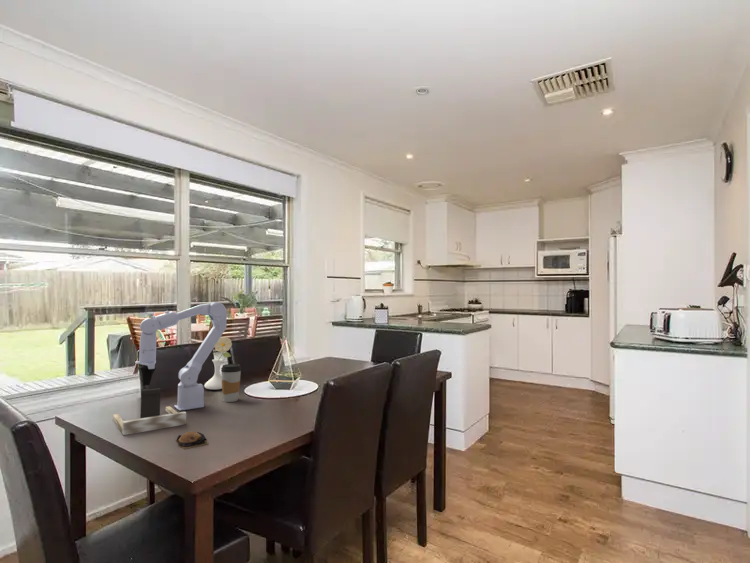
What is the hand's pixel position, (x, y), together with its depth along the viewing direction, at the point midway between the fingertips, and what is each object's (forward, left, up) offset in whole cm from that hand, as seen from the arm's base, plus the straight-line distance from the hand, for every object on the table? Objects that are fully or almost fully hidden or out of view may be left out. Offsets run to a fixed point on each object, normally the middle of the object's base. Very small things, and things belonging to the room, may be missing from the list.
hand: (146, 385), depth 164 cm
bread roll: (-5, +43, -11) cm, 45 cm away
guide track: (+1, +12, -10) cm, 16 cm away
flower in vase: (-36, -23, -11) cm, 44 cm away
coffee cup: (-33, +1, -11) cm, 34 cm away
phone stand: (+1, +15, -11) cm, 19 cm away
